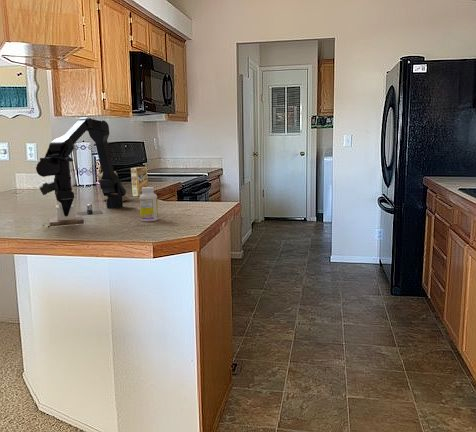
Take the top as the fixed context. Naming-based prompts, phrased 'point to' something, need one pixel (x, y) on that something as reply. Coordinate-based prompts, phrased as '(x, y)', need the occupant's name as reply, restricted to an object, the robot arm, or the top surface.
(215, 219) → the top surface
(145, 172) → the candy box
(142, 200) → the supplement bottle
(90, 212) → the stand
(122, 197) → the stone cup
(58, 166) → the robot arm
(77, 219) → the hub
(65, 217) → the collar
